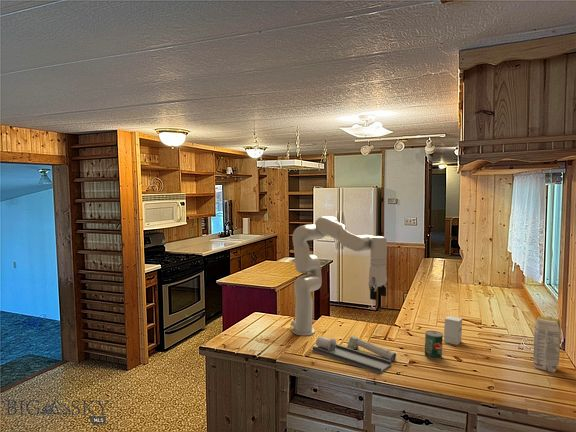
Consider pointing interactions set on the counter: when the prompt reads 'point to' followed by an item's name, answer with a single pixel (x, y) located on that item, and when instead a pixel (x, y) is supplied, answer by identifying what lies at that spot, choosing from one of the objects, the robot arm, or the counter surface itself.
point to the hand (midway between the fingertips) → (378, 297)
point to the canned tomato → (433, 344)
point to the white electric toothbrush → (371, 348)
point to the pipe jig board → (350, 355)
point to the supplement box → (453, 330)
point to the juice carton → (547, 343)
